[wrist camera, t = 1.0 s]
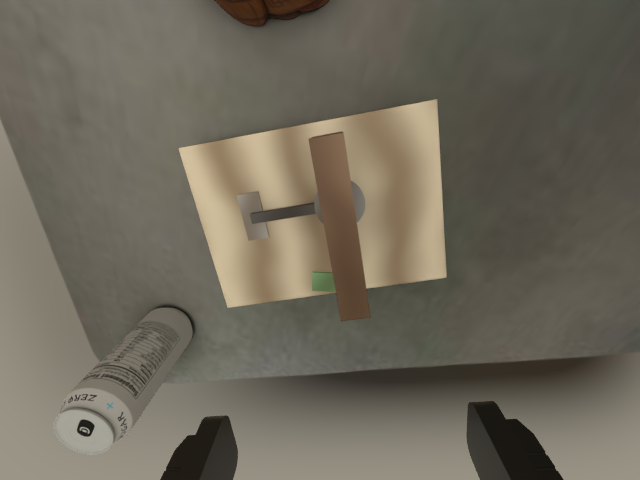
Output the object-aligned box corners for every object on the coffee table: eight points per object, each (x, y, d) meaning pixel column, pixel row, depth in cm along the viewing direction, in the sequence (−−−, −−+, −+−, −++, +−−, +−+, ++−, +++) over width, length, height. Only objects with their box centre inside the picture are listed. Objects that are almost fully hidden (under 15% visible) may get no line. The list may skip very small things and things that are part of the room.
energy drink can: (141, 332, 40) (38, 442, 26) (156, 295, 39) (54, 392, 24) (186, 351, 41) (109, 469, 27) (202, 316, 39) (129, 423, 25)
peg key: (354, 127, 26) (365, 128, 18) (372, 261, 30) (388, 315, 22) (235, 150, 27) (190, 161, 19) (267, 276, 31) (242, 333, 22)
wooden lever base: (420, 103, 30) (437, 99, 26) (431, 259, 36) (447, 280, 31) (201, 145, 33) (177, 148, 28) (241, 286, 38) (227, 310, 33)
